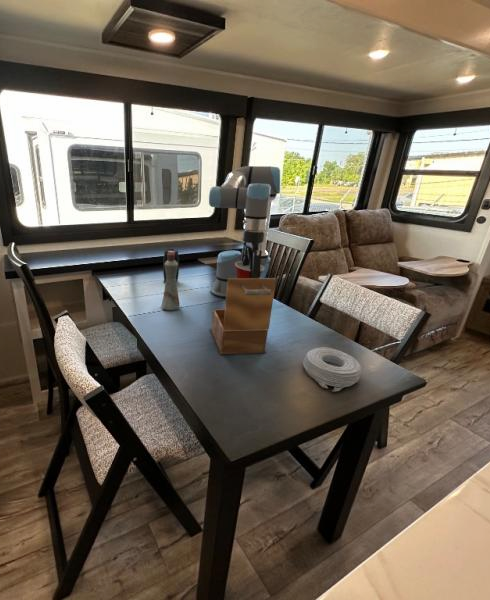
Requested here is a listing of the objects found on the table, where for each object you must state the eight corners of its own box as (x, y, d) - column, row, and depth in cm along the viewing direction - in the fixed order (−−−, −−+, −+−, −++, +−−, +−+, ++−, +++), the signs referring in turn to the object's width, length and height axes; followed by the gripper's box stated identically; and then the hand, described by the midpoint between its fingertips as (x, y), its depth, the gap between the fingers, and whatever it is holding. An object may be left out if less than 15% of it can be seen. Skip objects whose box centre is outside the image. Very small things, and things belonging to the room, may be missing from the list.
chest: (211, 330, 132) (212, 309, 128) (249, 329, 133) (251, 308, 130) (221, 354, 115) (223, 331, 111) (264, 353, 116) (268, 330, 113)
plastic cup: (261, 301, 113) (266, 270, 108) (231, 298, 115) (234, 267, 110) (260, 290, 123) (264, 261, 118) (232, 288, 125) (235, 259, 120)
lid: (227, 278, 104) (233, 286, 97) (275, 277, 105) (284, 285, 98) (223, 329, 111) (228, 340, 104) (267, 328, 113) (275, 339, 106)
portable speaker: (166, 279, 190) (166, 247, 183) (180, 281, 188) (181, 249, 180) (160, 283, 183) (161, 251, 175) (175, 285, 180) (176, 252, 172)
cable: (331, 396, 95) (335, 380, 92) (290, 365, 110) (293, 350, 107) (370, 382, 101) (375, 367, 99) (327, 354, 116) (330, 340, 114)
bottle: (157, 307, 152) (157, 251, 141) (170, 302, 158) (171, 248, 147) (170, 313, 146) (171, 255, 135) (183, 307, 152) (184, 251, 141)
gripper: (235, 225, 119) (229, 280, 127) (253, 236, 99) (245, 301, 108) (254, 225, 119) (247, 280, 128) (276, 236, 100) (266, 301, 108)
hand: (246, 290), depth 118 cm, fingers closed on plastic cup, 9 cm apart
